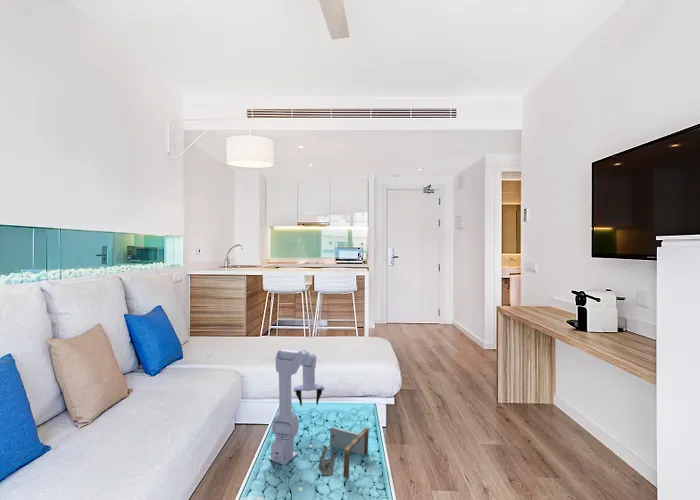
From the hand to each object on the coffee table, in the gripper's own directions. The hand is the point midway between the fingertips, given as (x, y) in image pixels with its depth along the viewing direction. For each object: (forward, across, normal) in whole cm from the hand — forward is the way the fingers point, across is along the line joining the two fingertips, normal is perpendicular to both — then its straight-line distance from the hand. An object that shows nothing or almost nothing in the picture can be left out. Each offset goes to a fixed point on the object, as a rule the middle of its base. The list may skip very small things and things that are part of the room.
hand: (309, 404), depth 195 cm
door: (+8, -15, +25) cm, 30 cm away
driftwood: (+8, -7, +32) cm, 34 cm away
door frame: (+7, -18, +35) cm, 40 cm away
